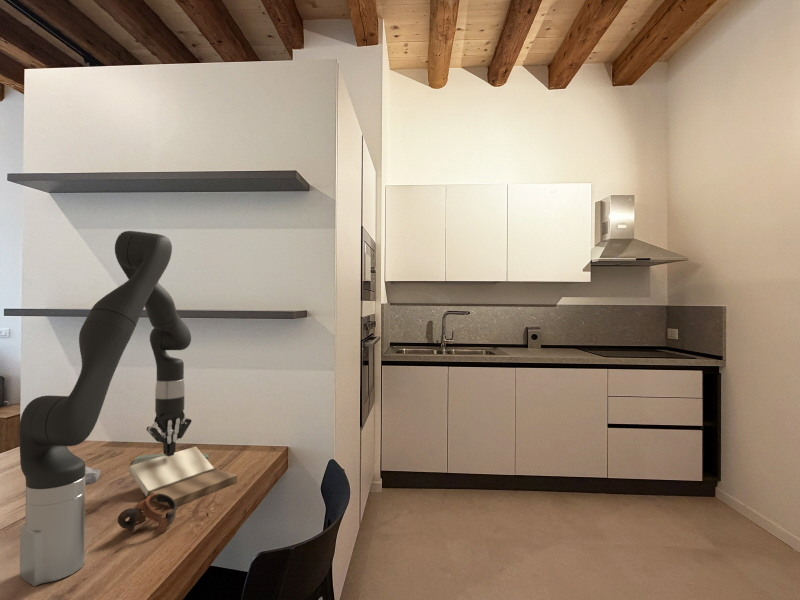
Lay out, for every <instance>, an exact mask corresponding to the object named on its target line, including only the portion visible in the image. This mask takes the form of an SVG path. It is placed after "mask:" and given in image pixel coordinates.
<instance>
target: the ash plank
mask: <svg viewBox="0 0 800 600" xmlns="http://www.w3.org/2000/svg"><path fill="white" fill-rule="evenodd" d="M202 453H203V452H201V451H200V450H199V449H198V447H197V446H192V447H190V448H186V449H183V450H179V451H175V453H174V455H172V456H169V457H168V456H162V457H158V458H155V459H151V460H148V461H144V462H141V463H138V464H134V465H133V464H131V465H130V466H129V468H128V473H129V475H130V476H131V477H132V479H133V481H134V482H135V483H136V484H137V486H138V487H139V488H140V490H141V491H142V492H143V494H144V496H145V497H146V498H147V497H148V496H149V491H151V490H154V489H157V488H160V487H163V486H166V485H169V484H171V483H174V482H177V481H180V480H183V479H186V478H188V477H191V476H194V475H197V474H200V473H203V472H206V471H208V470H211V469H214V468H215V467H214V466H213V465H212V464H211V462H210V461H208V458H205V457H204V456H203V454H202Z"/></svg>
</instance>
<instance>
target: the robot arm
mask: <svg viewBox="0 0 800 600" xmlns="http://www.w3.org/2000/svg"><path fill="white" fill-rule="evenodd" d="M114 243H115V244H114V254H115V257H116V260H117V263H118V265H119V266H120V268H121V270H122V271H123V273H124V274H125V276H126V278H127V279H128V280H127V281H126V282H124V283H122V284H121V285H119V286H118V287H117V288H115V289H114V290H111V292H109V293H107V294H106V295H104V296H102V298H100V299H99V300H98V301H97V302H96V303H95V304H94V305H93V306H92V308H91V309H90V311H89V313H88V315H87V316H86V318H85V320H84V322H83V324H82V326H81V328H80V331H79V336H78V344H79V345H78V346H79V347H78V348H79V352H80V357H81V358H80V359H81V370H80V373H79V376H78V378H77V380H76V383H75V384H74V386H73V388H72V390H71V392H70V394H69V395H43V396H38V397H36V398H33V399H32V400H31V401H30V402H29V403H28V404H27V405H26V406H25V408H24V409H23V411H22V413H21V417H20V420H19V424H18V425H19V426H18V427H19V428H18V439H19V441H18V443H19V444H18V445H19V458H20V459H19V460H20V468H21V472H22V474H23V476H24V477H25V508H24V509H25V510H24V512H25V515H24V516H25V519H24V521H25V523H24V524H21V525H20V528H19V577H20V578H21V579H22V580H23V581H26V582H27V583H28V584H30V585H31V586H33V587H36V586H38V585H42V584H44V583H45V584H46V583H50V582H55V581H58V580H61V579H63V578H66V577H68V576H70V575H72V574H75V573H76V572H77V571H79V570H80V569H81V568H82V567H83V566H84V564H85V553H86V551H85V550H86V549H85V538H86V537H85V533H86V532H85V526H86V525H85V523H86V522H85V521H86V518H85V517H86V516H85V515H86V485H85V466H86V463H85V461H84V459H83V458H81V457H79V456H78V455H76V454H74V453H73V452H71V450H70V449H69V448H68V447H72V446H73V447H75V446H78V445H80V444H82V443H83V442H85V440H87V438H88V437H89V436H90V435H91V433H92V432H93V430H94V429H95V426H96V424H97V422H98V419H99V418H100V417H99V416H100V414H101V412H102V408H103V406H104V402H105V400H106V396H107V394H108V390H109V387H110V385H111V382H112V379H113V377H114V374H115V372H116V370H117V367H118V365H119V363H120V361H121V358H122V356H123V354H124V351H125V350H126V347H127V345H128V344H129V341H130V340H131V338H132V336H133V334H134V332H135V329H136V327H137V324H138V322H139V320H140V317H141V316H142V315H141V314H142V312H143V311H144V309H145V312H146V314H147V317H148V320H149V321H150V322H149V323H150V325H151V326H152V327H153V329H151V331H150V334H149V342H150V345H151V349H152V352H153V357H154V360H155V364H156V365H155V366H156V383H155V389H154V390H155V391H154V392H155V393H154V395H155V397H154V398H155V399H154V400H155V404H154V405H155V406H154V411H155V418H154V420H153V421H154V422H153V423H152V425H151V426H147V427H146V431H147V432H148V433H149V434H150V436H151V437H152V438H153V439H154V440H155V441H156V442H158V443H162V445H163V449H162V451H163V453H162V454H165V456H168V457H169V456H172V455H174V453H175V452H177V451H176V444H177V443H176V442H177V441H178V440H179V439H182V438H183V437H184V435H185V433H186V432H187V430H188V428H189V427H190V425H191V423H192V419H190V418H188V417H186V414H185V412H184V411H185V380H184V379H185V378H184V377H185V376H184V374H185V372H184V371H185V370H184V369H185V368H184V367H185V366H184V361H183V359H181V358H177V357H174V356H170V355H169V354H168V352H167V351H184V350H186V349H188V347H189V346H190V345H191V342H192V335H191V331H190V329H189V327H188V326H187V324H186V323H185V322H184V321H183V319H182V318H181V317H180V316H179V315H178V311H177V308H176V304H175V301H174V299H173V297H172V296H171V294H170V293H169V292H168V290H166V288H165V287H163V286H162V285H161V284H160V283H159V280H160V279H161V277H162V276H163V274H164V272H165V271H166V269H167V268H168V265H169V264H170V261H171V257H172V252H173V245H172V242H171V240H170V238H168V237H167V236H166V235H162V234H158V233H151V232H144V231H136V230H126V231H123V232H121V233H120V234H118V236H117V238H116V240H115V242H114ZM159 430H160V432H159Z"/></svg>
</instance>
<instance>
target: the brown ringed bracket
mask: <svg viewBox="0 0 800 600" xmlns="http://www.w3.org/2000/svg"><path fill="white" fill-rule="evenodd" d="M153 499H157V500H158V501H157V502H167V503H168V504H169V506H170V507H169V509H170V511H168V512H166V513H165V517H164V516H163V512H162V511H158V510H156V509H155V508H153V507H152V506H151V504H150V502H153V501H152V500H153ZM157 502H156V503H157ZM177 509H178V506H177V504H176V502H175V501H174V500H173V499H172V498H171V497H169V496H167V495H165V494H159V493H157V494H151V495H149V496H147V497H146V498H145V499H143V500H141V501H140V502H138V503H137V504H136V506H134V508H132V507H131V508H130V507H129V508H127V509H124V510H123V511H122V512H120V514H119V515H118V517H117V523H118V525H119V527H121V528H122V529H126V530H127V532H130V533H134V531H135V527H136V524H137V523H140V522H146V519H149V520H152V521H154V522H155V523H158V527H157V529H156V530H155V533H157V534H163V533H164V531H165V530H166V529H167V528H168V527H170V525H172V523H173V522H174V520H175V519H176V516H177V515H176V512H177ZM162 516H163V517H162ZM128 518H129V519H128ZM127 519H128V520H127Z"/></svg>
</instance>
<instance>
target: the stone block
mask: <svg viewBox="0 0 800 600" xmlns="http://www.w3.org/2000/svg"><path fill="white" fill-rule="evenodd" d="M100 476H101V470H100V469H97V468H94V469H93V468H91V467H89V466H86V465H85V486H86V485H90V484H93V483H96V482H97V481H98V479H99V477H100Z"/></svg>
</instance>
